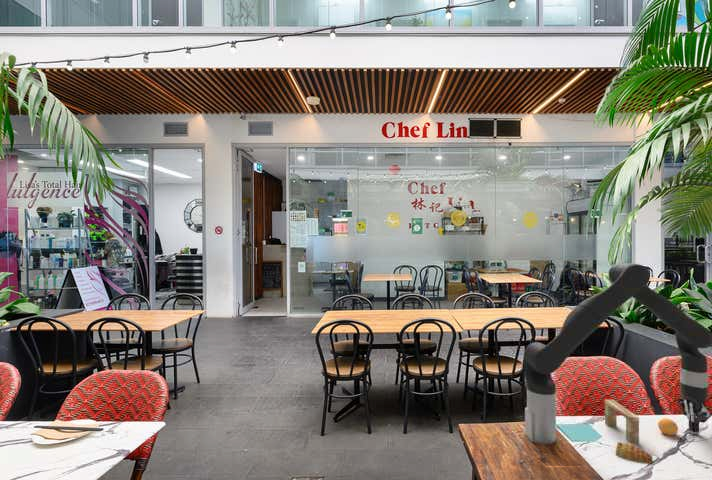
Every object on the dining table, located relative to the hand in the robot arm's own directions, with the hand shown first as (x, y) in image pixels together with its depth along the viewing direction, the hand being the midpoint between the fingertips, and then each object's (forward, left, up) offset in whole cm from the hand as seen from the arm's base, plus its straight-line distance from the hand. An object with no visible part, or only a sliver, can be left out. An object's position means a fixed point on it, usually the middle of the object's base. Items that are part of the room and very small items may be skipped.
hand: (693, 431), depth 138 cm
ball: (-9, 0, +1) cm, 9 cm away
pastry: (-31, -15, -2) cm, 34 cm away
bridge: (-25, 0, -1) cm, 25 cm away
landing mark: (-39, 0, -1) cm, 39 cm away
